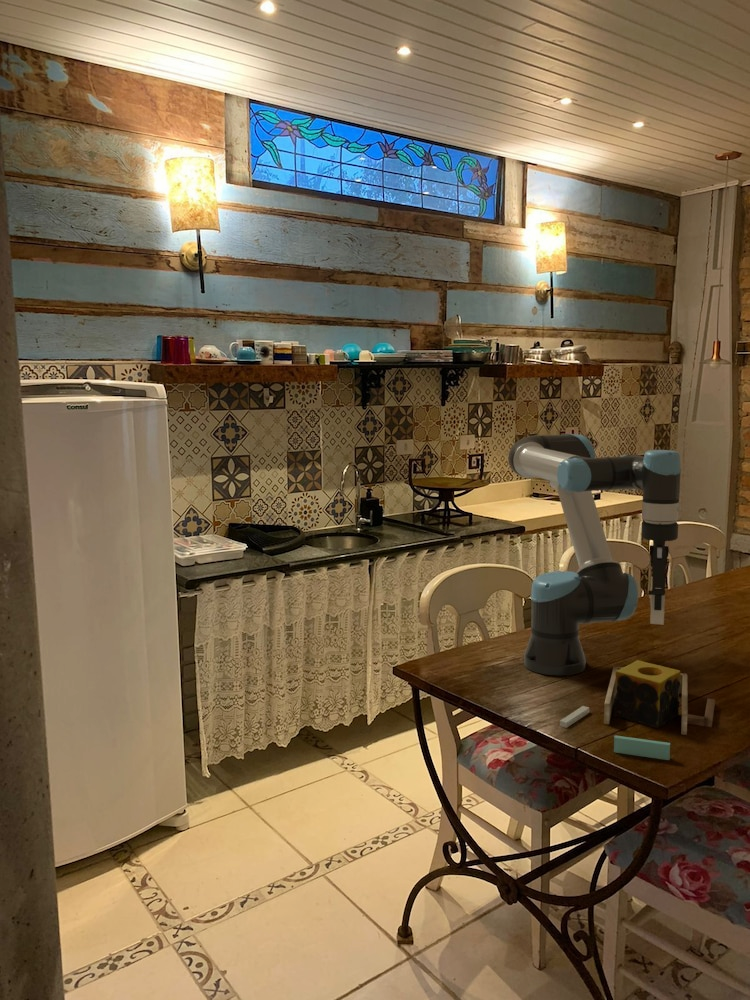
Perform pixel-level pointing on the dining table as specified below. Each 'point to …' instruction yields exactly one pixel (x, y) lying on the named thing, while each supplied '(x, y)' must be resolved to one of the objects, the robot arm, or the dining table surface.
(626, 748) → the bar
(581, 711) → the grey stick
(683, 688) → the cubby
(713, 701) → the crook tool
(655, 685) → the candle
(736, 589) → the dining table surface
